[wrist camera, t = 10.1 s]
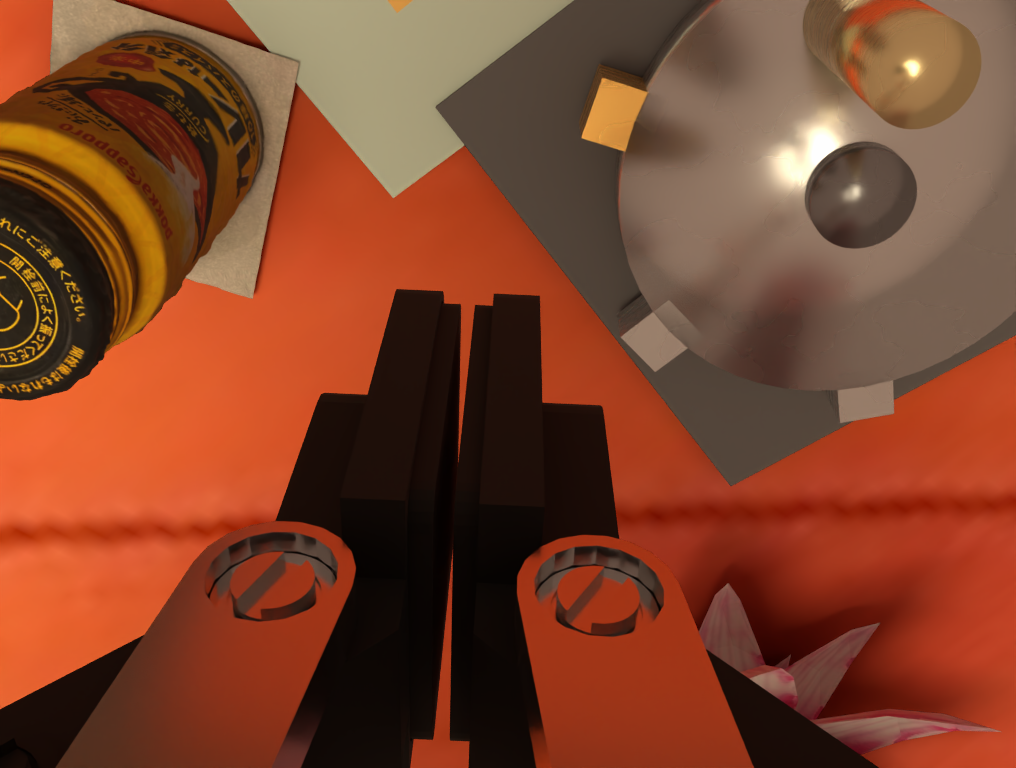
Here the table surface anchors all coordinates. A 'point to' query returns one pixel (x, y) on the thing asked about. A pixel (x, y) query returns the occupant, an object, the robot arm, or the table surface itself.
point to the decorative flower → (816, 680)
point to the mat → (392, 67)
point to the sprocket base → (595, 225)
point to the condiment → (129, 183)
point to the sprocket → (818, 189)
